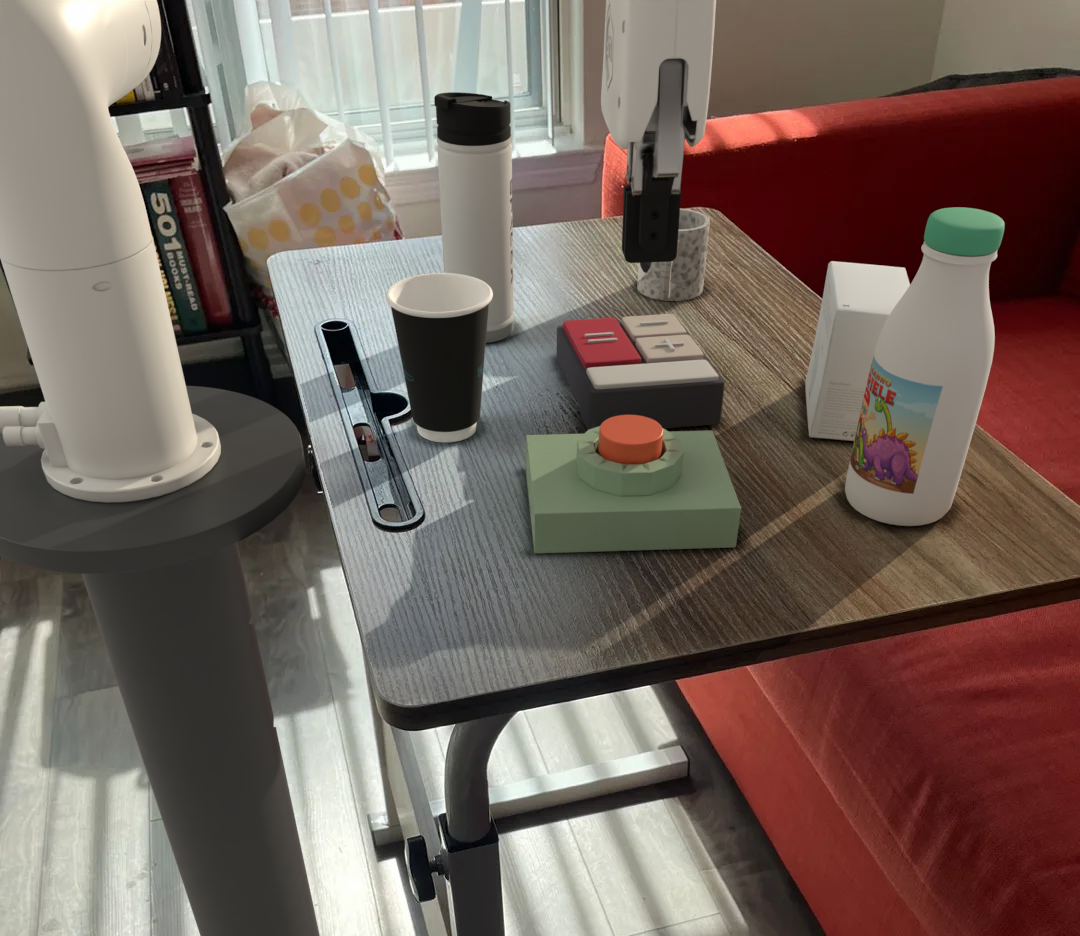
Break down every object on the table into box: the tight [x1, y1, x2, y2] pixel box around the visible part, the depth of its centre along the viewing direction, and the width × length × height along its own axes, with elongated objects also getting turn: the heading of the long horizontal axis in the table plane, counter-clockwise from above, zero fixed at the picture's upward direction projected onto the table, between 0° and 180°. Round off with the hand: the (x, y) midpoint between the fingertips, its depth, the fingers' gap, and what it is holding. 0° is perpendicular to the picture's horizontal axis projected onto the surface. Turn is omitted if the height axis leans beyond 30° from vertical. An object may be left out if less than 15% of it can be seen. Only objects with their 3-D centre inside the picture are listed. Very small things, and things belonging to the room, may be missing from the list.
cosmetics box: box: [804, 260, 911, 442], centre depth 88 cm, size 10×6×10 cm, turn 172°
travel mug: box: [433, 91, 515, 344], centre depth 97 cm, size 6×7×20 cm
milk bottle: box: [844, 206, 1006, 527], centre depth 75 cm, size 8×8×20 cm
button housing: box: [525, 426, 742, 555], centre depth 79 cm, size 14×11×5 cm
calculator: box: [556, 313, 726, 431], centre depth 93 cm, size 11×4×15 cm
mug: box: [636, 207, 711, 302], centre depth 108 cm, size 10×7×7 cm
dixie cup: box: [385, 272, 493, 443], centre depth 86 cm, size 8×8×11 cm
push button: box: [598, 415, 663, 465], centre depth 77 cm, size 4×4×2 cm
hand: (648, 256), depth 68 cm, fingers closed
